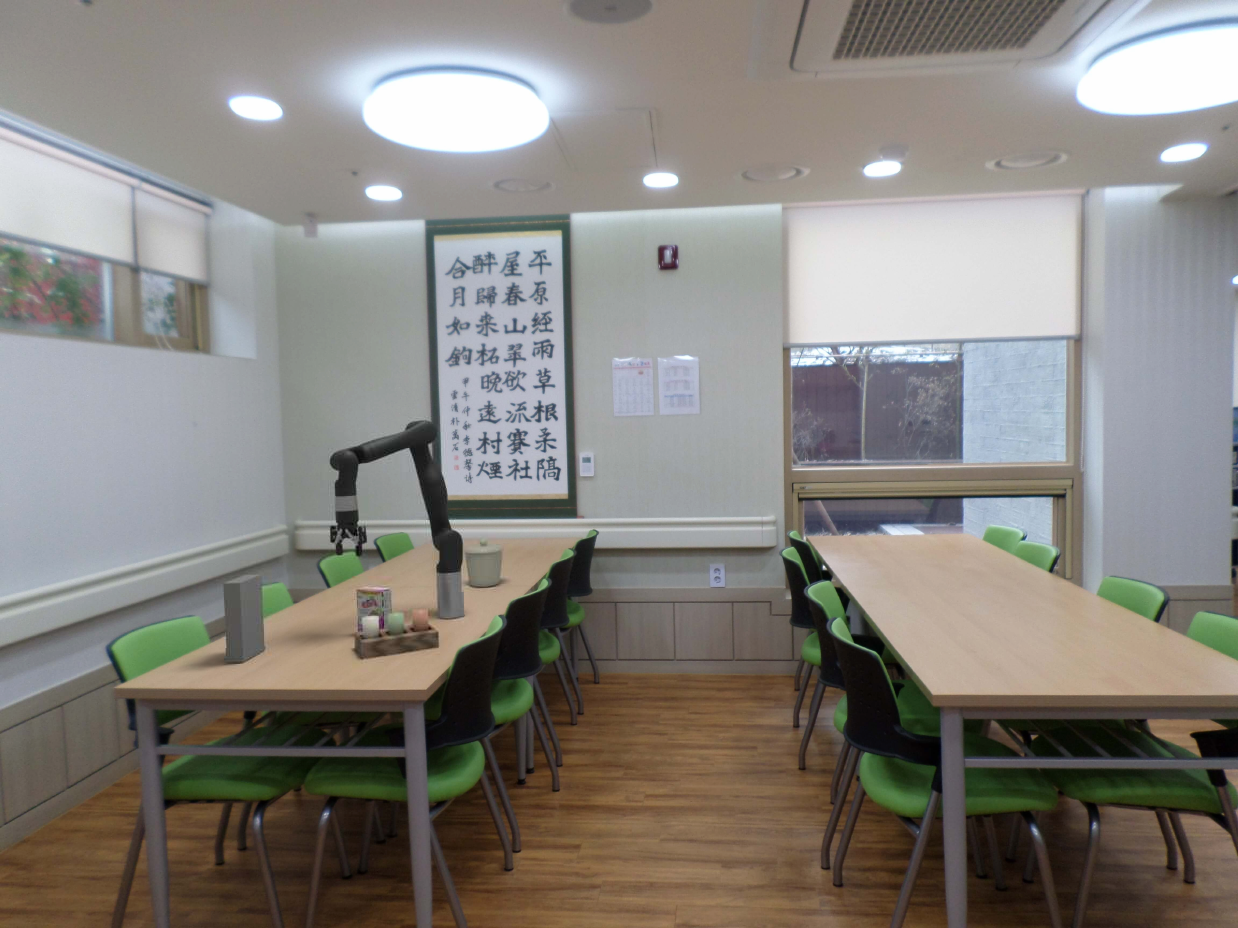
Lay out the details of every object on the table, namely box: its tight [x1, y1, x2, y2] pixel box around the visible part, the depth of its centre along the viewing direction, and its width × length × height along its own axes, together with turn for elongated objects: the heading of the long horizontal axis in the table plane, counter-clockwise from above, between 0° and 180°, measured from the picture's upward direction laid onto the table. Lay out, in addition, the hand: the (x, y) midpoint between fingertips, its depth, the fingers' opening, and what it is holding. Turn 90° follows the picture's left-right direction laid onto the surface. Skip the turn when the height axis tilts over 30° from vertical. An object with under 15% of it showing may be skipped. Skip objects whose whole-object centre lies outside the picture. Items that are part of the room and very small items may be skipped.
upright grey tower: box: [223, 574, 266, 664], centre depth 246 cm, size 14×6×25 cm, turn 178°
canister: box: [463, 538, 505, 588], centre depth 351 cm, size 18×18×21 cm
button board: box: [353, 623, 440, 659], centre depth 253 cm, size 24×14×5 cm, turn 118°
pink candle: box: [412, 608, 429, 632], centre depth 257 cm, size 5×5×7 cm
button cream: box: [362, 616, 379, 640], centre depth 249 cm, size 5×5×7 cm
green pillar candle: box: [388, 611, 405, 636], centre depth 253 cm, size 5×5×7 cm
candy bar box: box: [356, 586, 393, 632], centre depth 269 cm, size 11×5×16 cm, turn 71°
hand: (349, 555), depth 267 cm, fingers open, 8 cm apart
